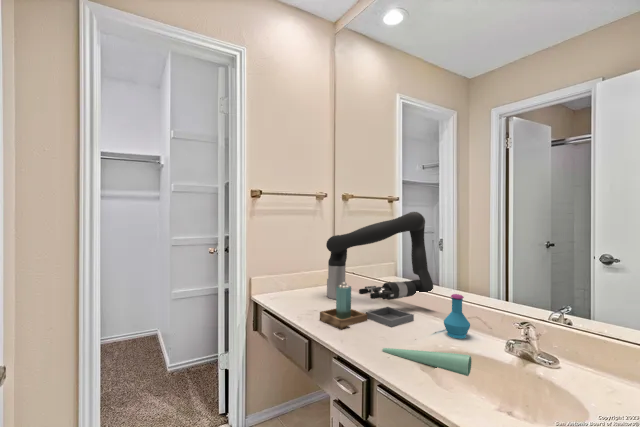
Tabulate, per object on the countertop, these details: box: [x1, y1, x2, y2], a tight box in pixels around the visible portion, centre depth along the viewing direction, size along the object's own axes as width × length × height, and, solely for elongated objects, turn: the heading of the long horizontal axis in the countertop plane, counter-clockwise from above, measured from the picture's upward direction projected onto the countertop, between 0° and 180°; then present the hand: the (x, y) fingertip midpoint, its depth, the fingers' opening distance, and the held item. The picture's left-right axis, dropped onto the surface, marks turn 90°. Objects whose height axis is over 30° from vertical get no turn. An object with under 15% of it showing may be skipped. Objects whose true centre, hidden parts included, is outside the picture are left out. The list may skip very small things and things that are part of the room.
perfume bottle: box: [443, 293, 471, 339], centre depth 125 cm, size 9×9×15 cm
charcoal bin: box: [365, 306, 415, 328], centre depth 139 cm, size 14×14×4 cm
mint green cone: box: [381, 347, 472, 377], centre depth 102 cm, size 5×6×27 cm
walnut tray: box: [319, 308, 368, 331], centre depth 138 cm, size 14×14×4 cm
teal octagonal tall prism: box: [335, 281, 352, 319], centre depth 139 cm, size 6×6×16 cm
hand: (365, 293), depth 143 cm, fingers open, 8 cm apart
